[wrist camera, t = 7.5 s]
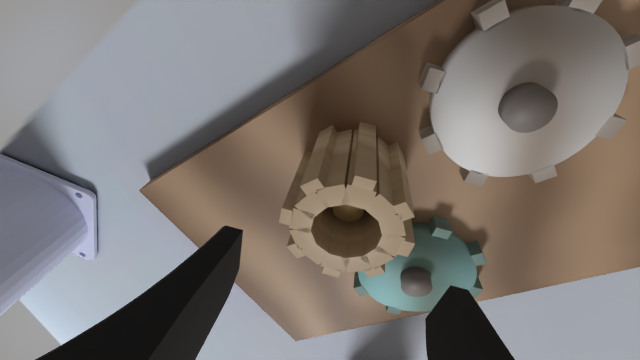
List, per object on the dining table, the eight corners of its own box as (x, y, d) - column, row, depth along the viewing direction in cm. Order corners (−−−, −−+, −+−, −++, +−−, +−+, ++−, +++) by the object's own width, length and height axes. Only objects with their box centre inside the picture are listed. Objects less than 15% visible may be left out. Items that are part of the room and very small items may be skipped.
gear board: (298, 328, 28) (286, 384, 24) (150, 180, 21) (98, 226, 17) (663, 241, 17) (748, 316, 13) (618, -113, 10) (767, -172, 6)
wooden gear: (295, 196, 18) (272, 259, 14) (314, 109, 15) (290, 158, 11) (385, 219, 18) (388, 291, 14) (422, 138, 15) (440, 198, 11)
